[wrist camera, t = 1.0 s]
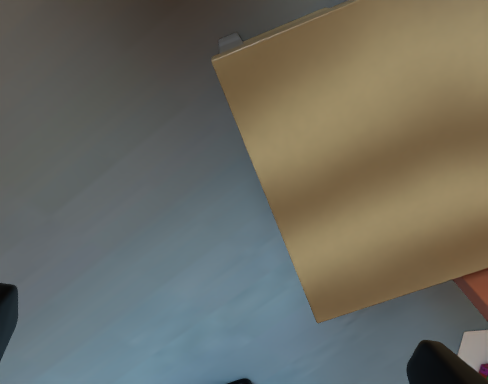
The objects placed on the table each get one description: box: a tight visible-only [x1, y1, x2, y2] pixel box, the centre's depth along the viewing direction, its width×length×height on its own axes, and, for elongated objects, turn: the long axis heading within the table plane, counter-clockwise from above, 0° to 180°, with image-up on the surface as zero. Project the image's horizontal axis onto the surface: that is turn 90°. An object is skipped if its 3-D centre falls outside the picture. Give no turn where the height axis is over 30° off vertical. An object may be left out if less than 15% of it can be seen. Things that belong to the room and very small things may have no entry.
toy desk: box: [212, 0, 488, 323], centre depth 17 cm, size 12×16×8 cm
